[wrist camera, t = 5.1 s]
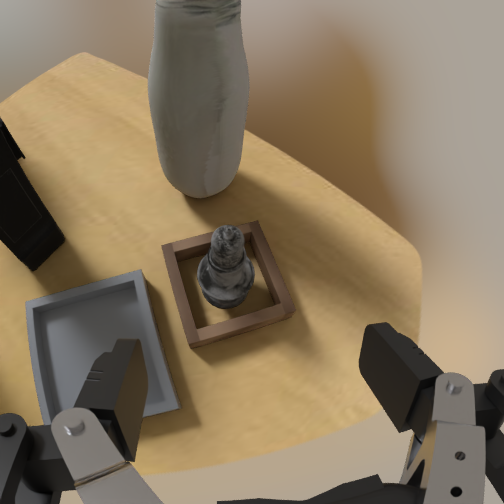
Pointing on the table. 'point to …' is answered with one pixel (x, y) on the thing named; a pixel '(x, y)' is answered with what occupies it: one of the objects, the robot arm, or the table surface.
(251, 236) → the walnut collar
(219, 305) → the dark grey chess piece
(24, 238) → the portable radio
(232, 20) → the glass bottle
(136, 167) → the table surface
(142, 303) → the grey tray
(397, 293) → the table surface
